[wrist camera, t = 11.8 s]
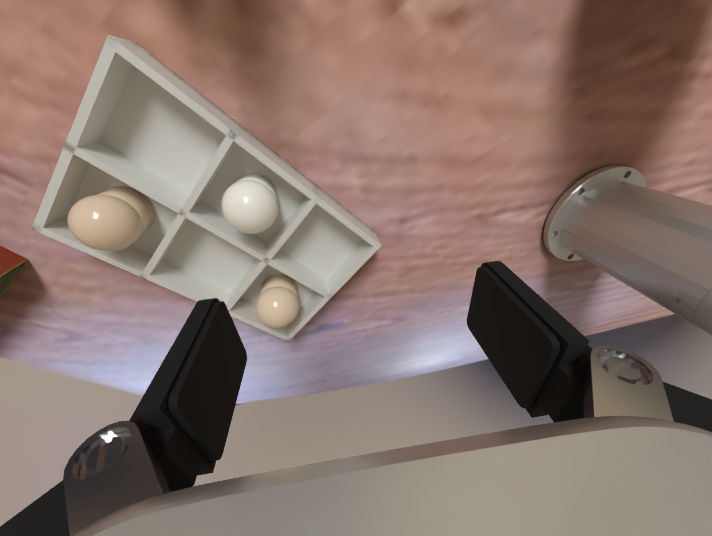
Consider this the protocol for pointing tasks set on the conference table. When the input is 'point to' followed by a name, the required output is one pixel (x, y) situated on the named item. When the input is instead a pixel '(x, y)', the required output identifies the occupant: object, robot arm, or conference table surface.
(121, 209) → the egg in carton
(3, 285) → the carton
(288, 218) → the egg tray
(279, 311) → the egg in carton
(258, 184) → the loose egg
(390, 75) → the conference table surface
